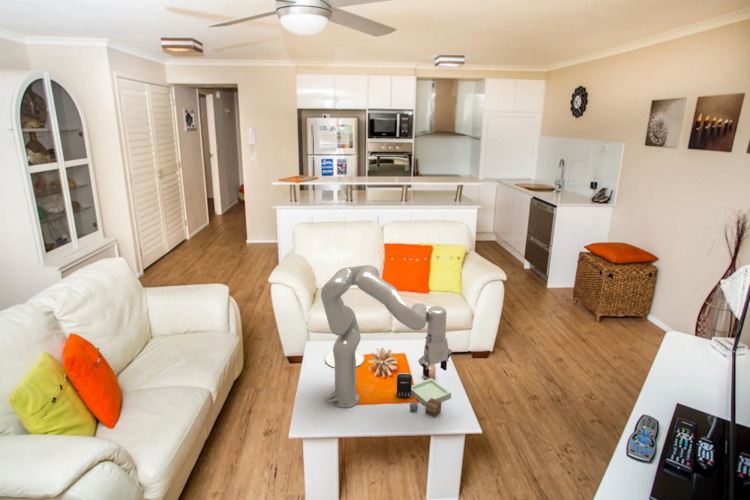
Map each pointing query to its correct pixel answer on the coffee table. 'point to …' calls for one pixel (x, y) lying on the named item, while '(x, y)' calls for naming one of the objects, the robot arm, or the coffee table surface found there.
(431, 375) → the beige round piece
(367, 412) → the coffee table surface
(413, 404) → the ball
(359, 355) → the plate
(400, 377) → the battery
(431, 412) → the block
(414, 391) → the tray
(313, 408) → the coffee table surface
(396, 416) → the coffee table surface
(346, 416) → the coffee table surface
